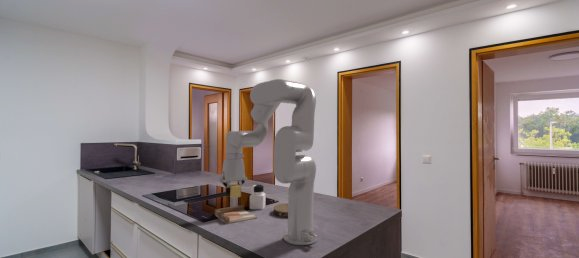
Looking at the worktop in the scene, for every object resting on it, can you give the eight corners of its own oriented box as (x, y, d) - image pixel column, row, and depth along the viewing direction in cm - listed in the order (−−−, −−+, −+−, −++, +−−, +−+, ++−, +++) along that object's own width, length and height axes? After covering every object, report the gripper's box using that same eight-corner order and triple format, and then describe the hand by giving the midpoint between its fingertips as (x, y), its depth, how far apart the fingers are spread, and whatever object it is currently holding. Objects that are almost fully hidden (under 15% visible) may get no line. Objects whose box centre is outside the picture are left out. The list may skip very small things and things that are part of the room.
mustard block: (234, 193, 135) (235, 183, 135) (240, 196, 129) (240, 186, 129) (226, 194, 133) (226, 184, 133) (231, 197, 127) (231, 187, 127)
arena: (257, 218, 128) (257, 212, 128) (226, 224, 119) (226, 218, 119) (242, 209, 141) (242, 205, 141) (214, 214, 133) (214, 209, 133)
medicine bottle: (265, 206, 149) (265, 183, 149) (262, 209, 142) (263, 186, 142) (252, 205, 150) (252, 183, 150) (249, 209, 142) (249, 186, 143)
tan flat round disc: (311, 215, 134) (311, 209, 134) (283, 220, 126) (283, 214, 126) (294, 207, 147) (294, 201, 147) (268, 211, 139) (268, 205, 139)
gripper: (246, 155, 139) (246, 191, 139) (214, 157, 129) (213, 195, 129) (253, 156, 133) (252, 194, 132) (219, 158, 123) (218, 199, 123)
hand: (233, 194), depth 131 cm, fingers closed on mustard block, 4 cm apart
